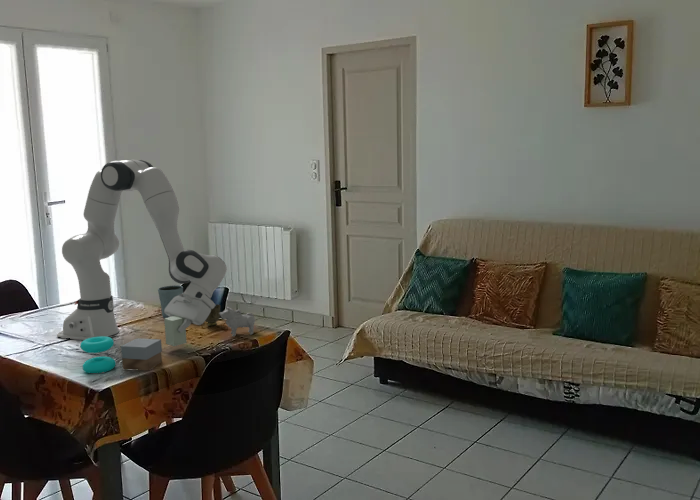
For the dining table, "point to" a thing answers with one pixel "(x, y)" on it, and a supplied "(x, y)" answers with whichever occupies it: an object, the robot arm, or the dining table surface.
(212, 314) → the cup
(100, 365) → the donuts
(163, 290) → the grey-blue plant pot
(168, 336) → the sage block
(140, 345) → the tower top slab
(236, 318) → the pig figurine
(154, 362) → the tower bottom slab
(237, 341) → the dining table surface
